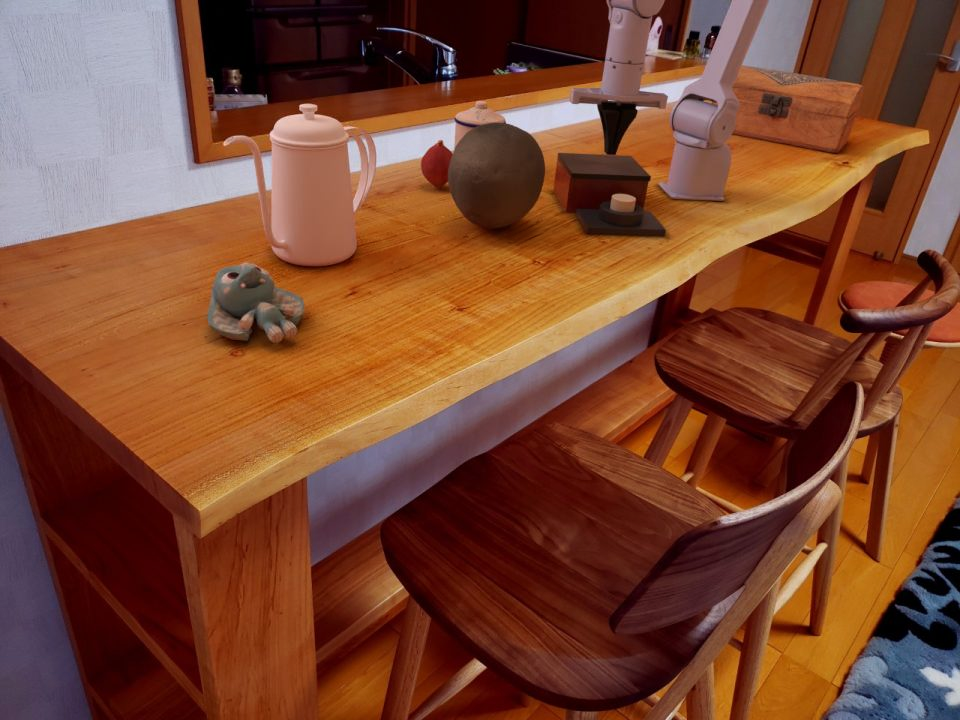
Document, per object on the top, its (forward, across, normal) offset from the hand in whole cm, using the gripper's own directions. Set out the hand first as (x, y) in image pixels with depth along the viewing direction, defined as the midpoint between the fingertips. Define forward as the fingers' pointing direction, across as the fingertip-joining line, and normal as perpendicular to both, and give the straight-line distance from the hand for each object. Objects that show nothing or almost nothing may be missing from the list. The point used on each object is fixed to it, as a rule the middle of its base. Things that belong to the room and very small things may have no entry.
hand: (609, 153), depth 117 cm
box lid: (+3, 0, -2) cm, 4 cm away
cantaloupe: (+9, +19, +11) cm, 24 cm away
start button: (+6, -1, +8) cm, 10 cm away
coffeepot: (+9, +44, +22) cm, 50 cm away
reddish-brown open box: (+9, 0, -3) cm, 9 cm away
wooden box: (+9, -55, -56) cm, 79 cm away
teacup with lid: (+9, +17, -20) cm, 28 cm away
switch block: (+9, -1, +8) cm, 12 cm away
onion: (+9, +26, -7) cm, 29 cm away
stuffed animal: (+9, +48, +42) cm, 64 cm away
